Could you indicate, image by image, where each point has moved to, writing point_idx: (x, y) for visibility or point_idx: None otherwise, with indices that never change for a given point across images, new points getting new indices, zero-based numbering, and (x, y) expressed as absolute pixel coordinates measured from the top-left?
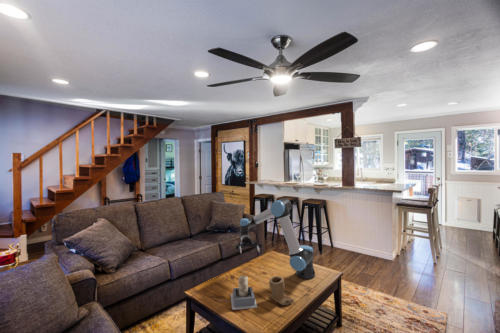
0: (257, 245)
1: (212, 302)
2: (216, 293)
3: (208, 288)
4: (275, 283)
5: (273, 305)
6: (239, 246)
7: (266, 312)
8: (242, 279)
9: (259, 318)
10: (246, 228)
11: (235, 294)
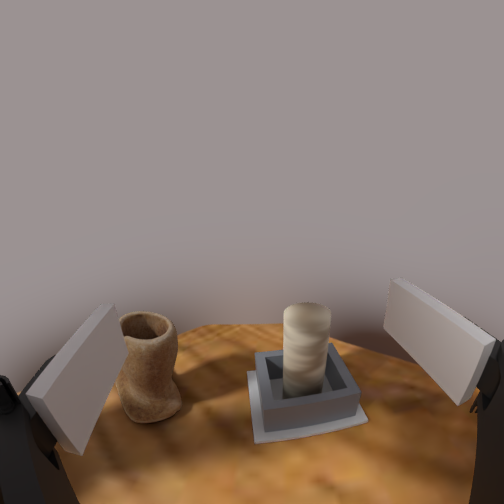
0: (42, 386)
1: (414, 376)
2: (431, 417)
3: None
4: (160, 315)
5: (187, 379)
6: (500, 351)
7: (221, 358)
8: (308, 304)
9: (246, 343)
10: None
11: (336, 362)
